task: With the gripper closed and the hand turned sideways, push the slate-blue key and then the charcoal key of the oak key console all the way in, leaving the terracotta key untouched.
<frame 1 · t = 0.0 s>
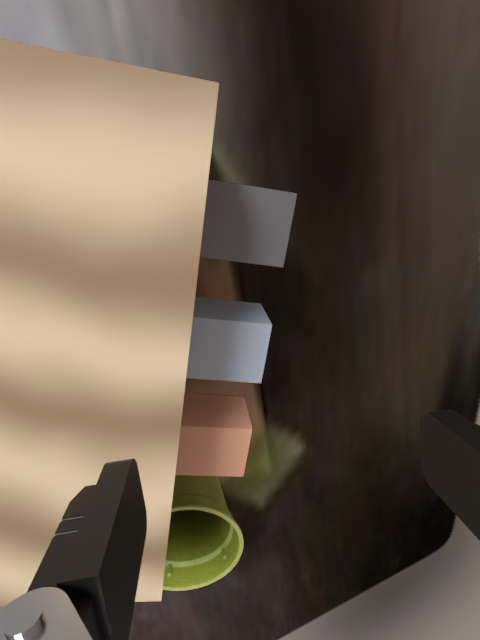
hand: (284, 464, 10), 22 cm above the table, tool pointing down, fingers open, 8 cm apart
plant pot: (186, 471, 38), on the table
key charcoal: (232, 220, 22), point 8 cm above the table, slide at 0.0 cm
console: (168, 295, 31), on the table
key terracotta: (202, 433, 27), point 8 cm above the table, slide at 0.0 cm
key slate: (216, 337, 24), point 8 cm above the table, slide at 0.0 cm
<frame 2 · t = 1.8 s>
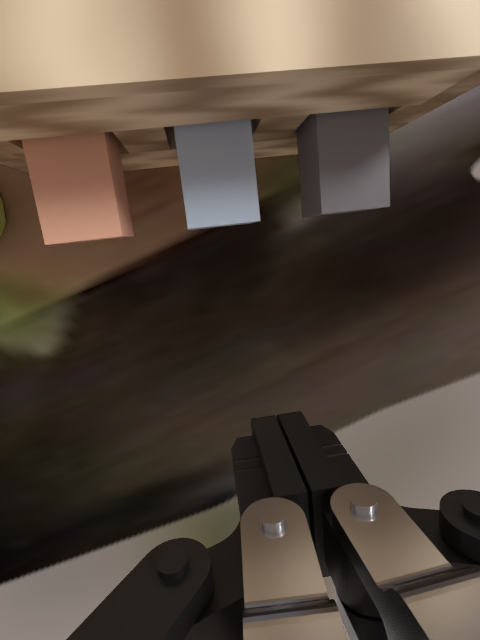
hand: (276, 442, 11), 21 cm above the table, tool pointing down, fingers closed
key charcoal: (340, 160, 22), point 8 cm above the table, slide at 0.0 cm
console: (204, 141, 29), on the table
key terracotta: (83, 186, 21), point 8 cm above the table, slide at 0.0 cm
key slate: (215, 172, 22), point 8 cm above the table, slide at 0.0 cm
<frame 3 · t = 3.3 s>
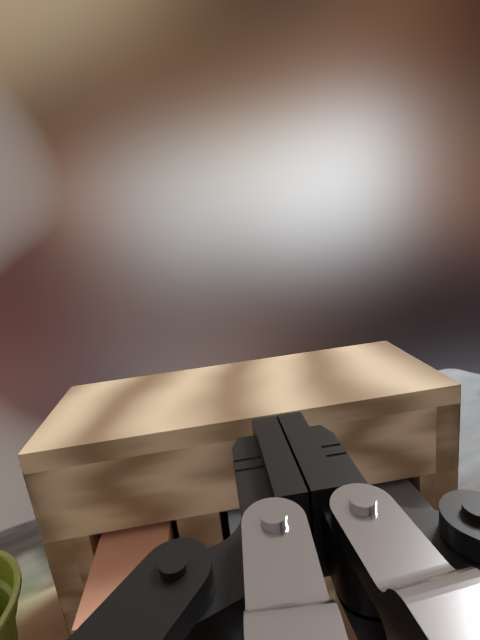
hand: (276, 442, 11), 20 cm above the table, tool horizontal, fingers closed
key charcoal: (398, 542, 22), point 8 cm above the table, slide at 0.0 cm
console: (271, 616, 26), on the table
key terracotta: (135, 594, 20), point 8 cm above the table, slide at 0.0 cm
key slate: (271, 567, 21), point 8 cm above the table, slide at 0.0 cm
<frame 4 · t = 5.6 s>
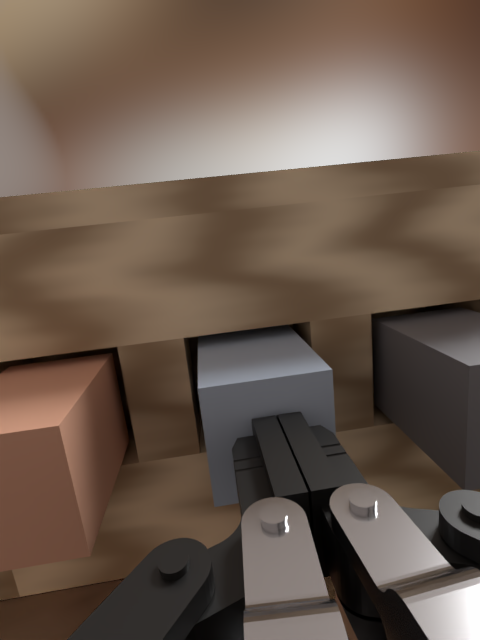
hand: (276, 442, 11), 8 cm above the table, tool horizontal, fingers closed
key charcoal: (461, 381, 14), point 8 cm above the table, slide at 0.0 cm
console: (265, 527, 19), on the table
key terracotta: (43, 444, 13), point 8 cm above the table, slide at 0.0 cm
key slate: (257, 398, 14), point 8 cm above the table, slide at 1.1 cm, touching gripper
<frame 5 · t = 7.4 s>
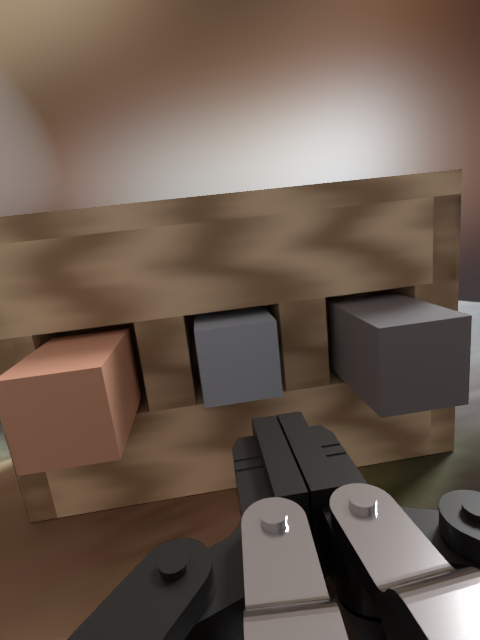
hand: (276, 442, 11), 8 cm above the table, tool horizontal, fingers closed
key charcoal: (389, 346, 19), point 8 cm above the table, slide at 0.0 cm
console: (248, 469, 23), on the table
key terracotta: (81, 391, 17), point 8 cm above the table, slide at 0.0 cm
key slate: (234, 347, 21), point 8 cm above the table, slide at 3.4 cm
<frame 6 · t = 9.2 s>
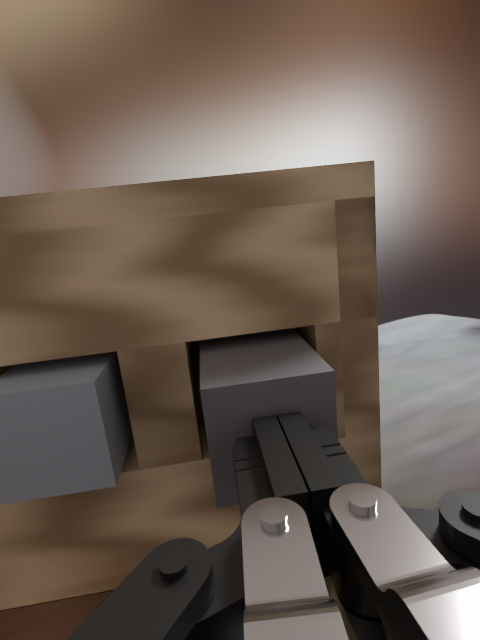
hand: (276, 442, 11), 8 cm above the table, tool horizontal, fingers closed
key charcoal: (258, 399, 14), point 8 cm above the table, slide at 1.5 cm, touching gripper
console: (110, 562, 18), on the table
key slate: (74, 405, 16), point 8 cm above the table, slide at 3.4 cm
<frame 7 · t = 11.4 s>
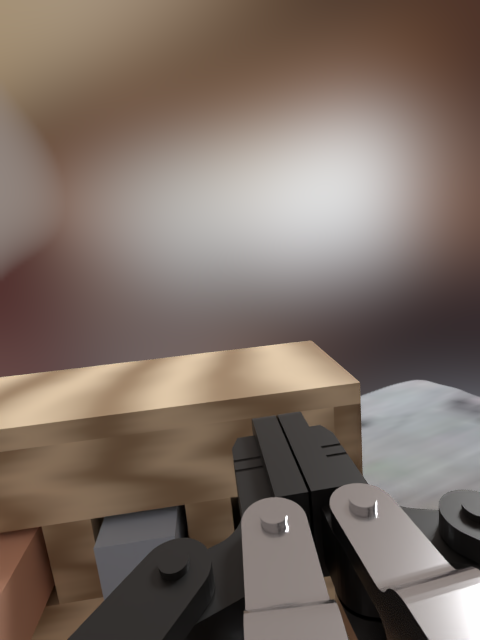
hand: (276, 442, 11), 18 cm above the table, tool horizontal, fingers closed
key charcoal: (273, 512, 23), point 8 cm above the table, slide at 3.4 cm
console: (166, 639, 24), on the table
key slate: (148, 531, 22), point 8 cm above the table, slide at 3.4 cm
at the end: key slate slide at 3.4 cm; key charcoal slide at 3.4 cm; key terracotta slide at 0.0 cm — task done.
